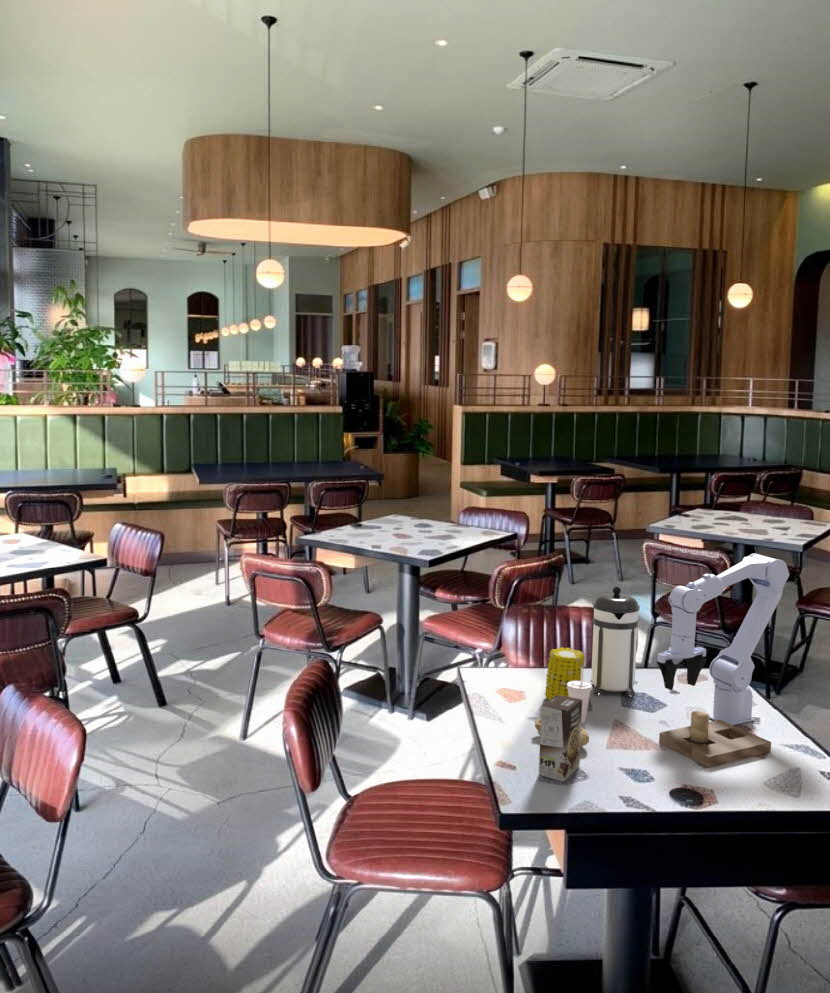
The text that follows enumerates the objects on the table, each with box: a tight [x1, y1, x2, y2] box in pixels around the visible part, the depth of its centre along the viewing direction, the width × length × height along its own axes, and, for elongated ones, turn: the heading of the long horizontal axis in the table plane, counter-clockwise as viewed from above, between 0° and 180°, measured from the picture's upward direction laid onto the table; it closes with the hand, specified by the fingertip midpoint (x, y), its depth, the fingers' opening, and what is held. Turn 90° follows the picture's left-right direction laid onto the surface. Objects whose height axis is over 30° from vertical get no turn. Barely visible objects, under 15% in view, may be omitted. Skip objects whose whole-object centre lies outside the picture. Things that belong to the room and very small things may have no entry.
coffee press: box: [590, 586, 641, 698], centre depth 257 cm, size 17×16×30 cm
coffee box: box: [538, 695, 582, 782], centre depth 202 cm, size 9×6×16 cm
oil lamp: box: [534, 718, 590, 748], centre depth 219 cm, size 11×14×5 cm
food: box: [544, 646, 585, 701], centre depth 248 cm, size 15×12×10 cm
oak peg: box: [690, 710, 710, 747], centre depth 216 cm, size 4×4×9 cm
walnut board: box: [658, 720, 772, 768], centre depth 218 cm, size 20×16×2 cm
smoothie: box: [567, 667, 593, 724], centre depth 233 cm, size 6×6×14 cm
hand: (680, 686), depth 230 cm, fingers open, 7 cm apart
